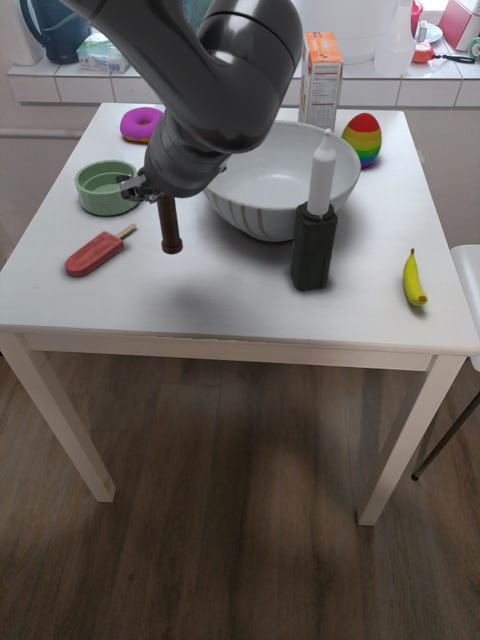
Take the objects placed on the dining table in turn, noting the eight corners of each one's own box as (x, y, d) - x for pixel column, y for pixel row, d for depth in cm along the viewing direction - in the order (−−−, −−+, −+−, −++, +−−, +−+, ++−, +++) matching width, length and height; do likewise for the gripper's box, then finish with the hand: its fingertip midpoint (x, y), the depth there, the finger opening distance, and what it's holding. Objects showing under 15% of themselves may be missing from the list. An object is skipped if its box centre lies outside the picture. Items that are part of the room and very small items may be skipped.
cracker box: (294, 135, 108) (303, 30, 93) (321, 134, 108) (335, 30, 93) (299, 169, 99) (310, 59, 83) (329, 169, 99) (345, 59, 83)
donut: (115, 142, 106) (111, 122, 103) (133, 121, 113) (129, 101, 109) (160, 148, 105) (157, 128, 101) (175, 126, 111) (173, 106, 108)
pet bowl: (86, 223, 88) (79, 199, 84) (77, 189, 94) (70, 166, 91) (147, 209, 90) (143, 186, 86) (134, 178, 97) (129, 155, 93)
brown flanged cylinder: (165, 256, 68) (153, 182, 60) (159, 243, 70) (147, 169, 61) (185, 251, 69) (176, 177, 60) (179, 239, 71) (170, 164, 62)
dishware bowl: (208, 279, 78) (203, 217, 69) (192, 185, 95) (187, 126, 86) (369, 261, 80) (385, 199, 71) (325, 173, 98) (334, 114, 89)
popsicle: (143, 224, 84) (77, 273, 76) (145, 232, 86) (80, 281, 78) (125, 215, 86) (58, 262, 78) (126, 223, 87) (61, 270, 80)
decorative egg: (379, 172, 98) (390, 124, 91) (338, 171, 98) (346, 123, 91) (374, 151, 103) (384, 104, 96) (335, 150, 104) (343, 103, 96)
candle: (297, 292, 76) (314, 141, 57) (288, 270, 79) (302, 121, 60) (328, 287, 76) (356, 137, 58) (318, 266, 80) (341, 117, 61)
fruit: (398, 270, 79) (405, 246, 75) (411, 271, 79) (419, 247, 75) (408, 317, 72) (418, 293, 68) (423, 317, 72) (433, 294, 68)
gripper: (237, 98, 50) (198, 153, 67) (106, 129, 46) (99, 179, 63) (260, 169, 51) (216, 206, 68) (134, 206, 47) (119, 235, 64)
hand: (160, 193), depth 65 cm, fingers closed on brown flanged cylinder, 2 cm apart
